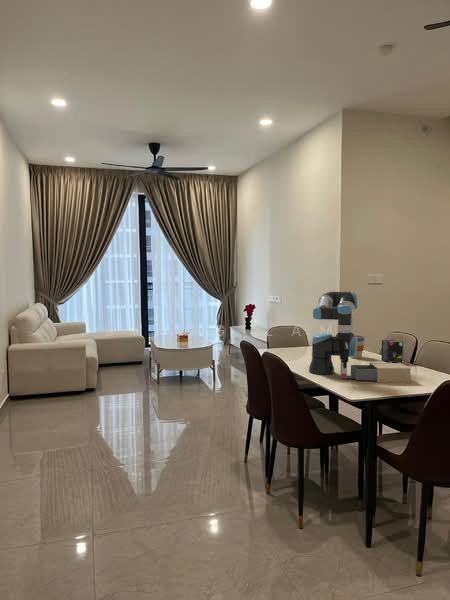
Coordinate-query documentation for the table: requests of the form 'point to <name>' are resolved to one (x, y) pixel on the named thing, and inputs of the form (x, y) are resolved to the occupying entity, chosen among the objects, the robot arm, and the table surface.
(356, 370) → the tray
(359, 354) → the reusable coffee cup
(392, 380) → the sleeve
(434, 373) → the table surface
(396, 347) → the tampon box
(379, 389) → the table surface
